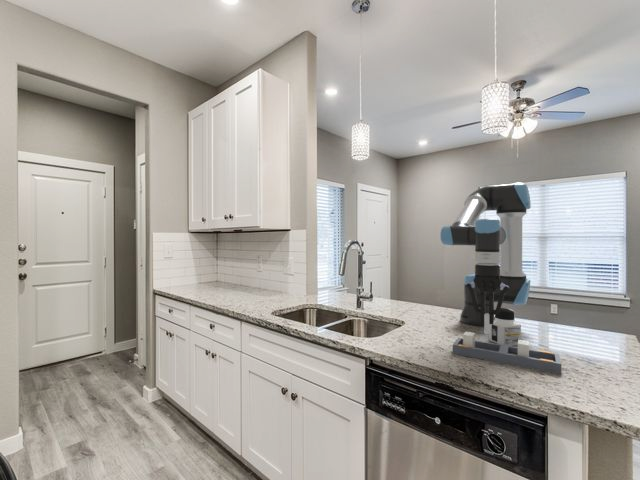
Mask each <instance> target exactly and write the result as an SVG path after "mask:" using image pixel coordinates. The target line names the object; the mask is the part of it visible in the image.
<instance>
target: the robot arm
mask: <svg viewBox="0 0 640 480" xmlns="http://www.w3.org/2000/svg"><path fill="white" fill-rule="evenodd" d="M463 205H464V206H463V207H462V209H461V211H460V212H459V214H458V215H457V217H456V219H455V220H454V222H453V223H452V224H451V225H447V226H446V225H445V226H443V227H441V230H440V234H439V235H440V241H441V243H442V244H443V245H446V246H474V248H475V249H474V263H476V264H475V265H474V273H473V274H467V275H466V276H465V277H464V284H463V286H464V287H463V288H464V290H463V291H464V292H463V293H464V294H463V295H464V297H463V299H464V301H463V302H464V303H463V308H462V310H461V313H460V315H459V318H460V319H459V321H460V322H461V323H464V324H466V325H471V326H478V327H484V328H483V330H484V331H483V332H484V333H483V334H485V335H489V334H490V324H493V323H494V321H495V314H499V312H500V309H501V308H502V305H503V304H507V305H508V304H509V305H513V306H515V305H517V306H525V305H526V304H527V302H528V299H529V294H530V289H531V280H530V279H529V278H527V274H526V273H525V272H524V271H523V218H524V216H525V215H527V210H529V209H530V210H531V208H532V207H531V206H532V204H531V197H530V191H529V187H528V184H526V183H524V182H513V183H503V184H502V183H501V184H492V185H491V184H490V185H486V186H483V187H480V188H478V189H476V190H474V191H473V192H471V193H470V194H469V195H468V196H467V198H466V199H465V201H464V203H463ZM489 211H495V212H496V215H497V216H498V217H499V218H480V216H481V215H482V214H483V213H485V212H489ZM495 303H497V304H496V307H495ZM495 309H496V310H495Z"/></svg>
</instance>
